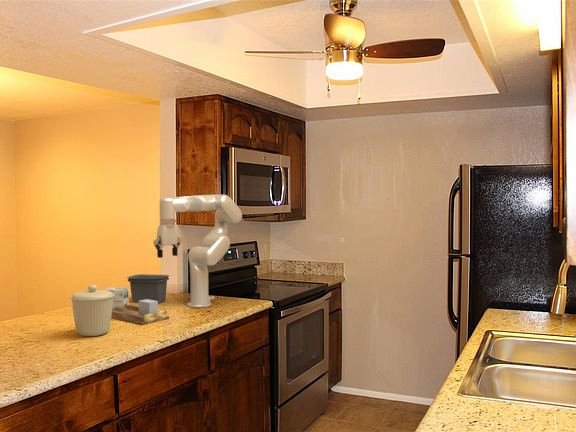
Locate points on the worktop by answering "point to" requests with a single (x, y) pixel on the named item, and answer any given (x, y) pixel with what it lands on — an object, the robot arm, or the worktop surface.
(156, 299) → the storage bin
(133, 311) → the board
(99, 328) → the canister
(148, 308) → the panel block
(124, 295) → the light bulb box
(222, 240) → the robot arm
